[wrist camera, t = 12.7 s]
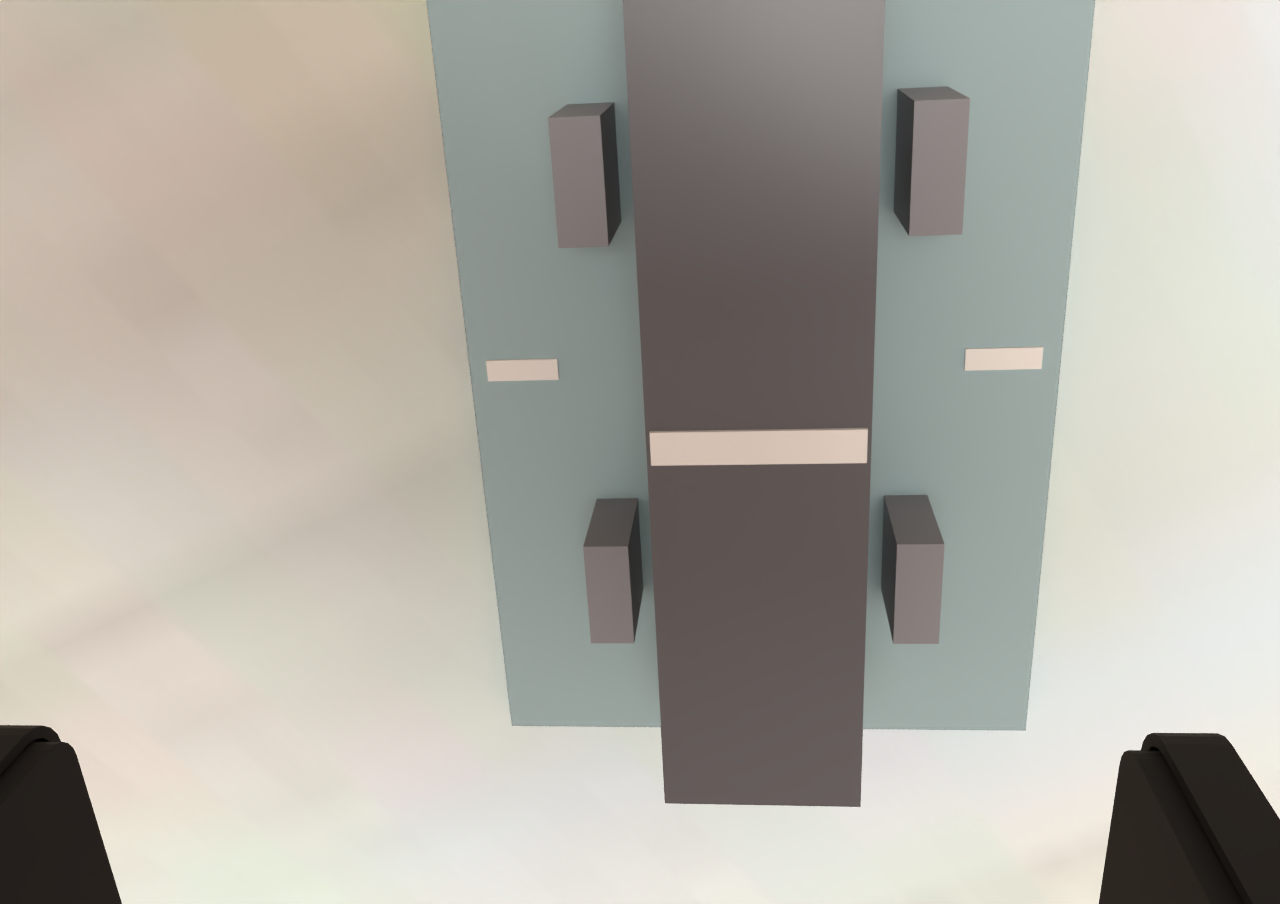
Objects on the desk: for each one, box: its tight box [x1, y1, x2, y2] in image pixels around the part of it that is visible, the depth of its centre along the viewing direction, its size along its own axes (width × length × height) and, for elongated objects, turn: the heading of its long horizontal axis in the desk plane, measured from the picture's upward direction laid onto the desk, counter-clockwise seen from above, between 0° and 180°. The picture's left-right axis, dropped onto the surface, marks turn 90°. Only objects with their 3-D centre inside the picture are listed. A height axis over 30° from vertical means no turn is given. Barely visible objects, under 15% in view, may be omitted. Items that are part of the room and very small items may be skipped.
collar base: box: [427, 0, 1095, 730], centre depth 30 cm, size 16×24×4 cm, turn 3°
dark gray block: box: [623, 0, 885, 807], centre depth 28 cm, size 20×5×6 cm, turn 3°
